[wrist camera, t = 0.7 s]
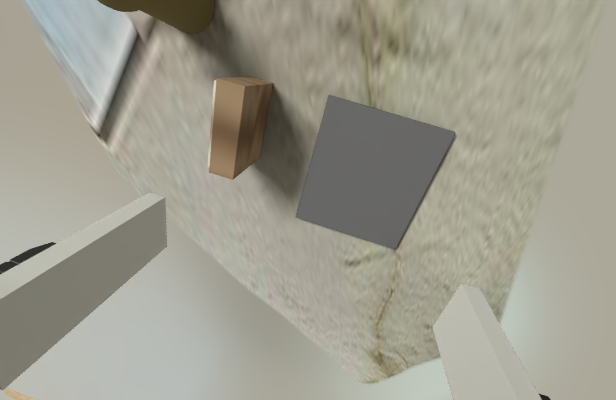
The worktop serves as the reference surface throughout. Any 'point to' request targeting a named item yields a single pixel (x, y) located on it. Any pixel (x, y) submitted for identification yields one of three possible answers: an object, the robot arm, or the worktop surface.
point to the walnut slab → (237, 124)
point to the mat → (369, 171)
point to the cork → (171, 11)
